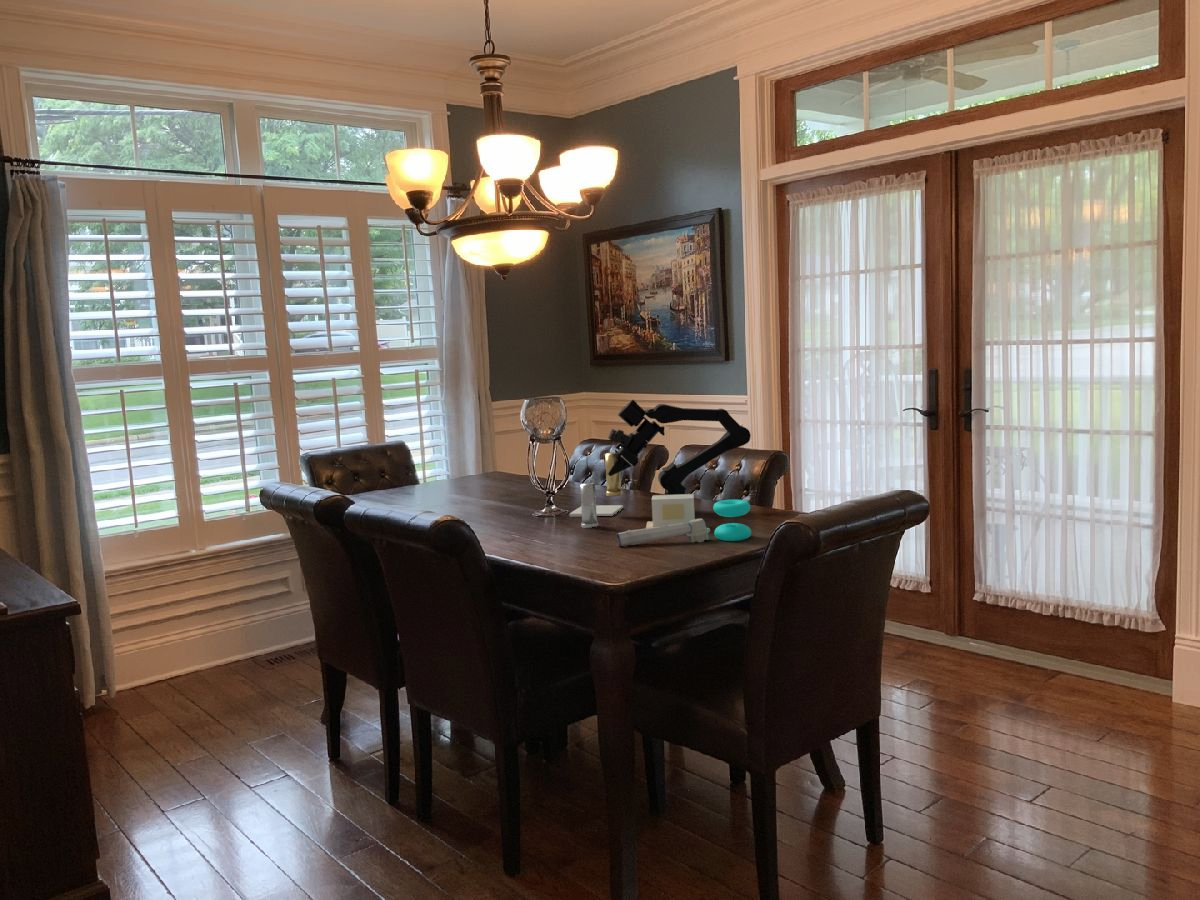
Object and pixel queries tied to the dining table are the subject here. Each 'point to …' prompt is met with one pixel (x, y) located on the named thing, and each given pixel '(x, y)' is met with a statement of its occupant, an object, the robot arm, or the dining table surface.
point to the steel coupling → (588, 505)
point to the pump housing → (671, 509)
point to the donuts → (732, 529)
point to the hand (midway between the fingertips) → (608, 474)
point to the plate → (599, 510)
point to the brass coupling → (613, 480)
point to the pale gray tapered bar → (665, 533)
